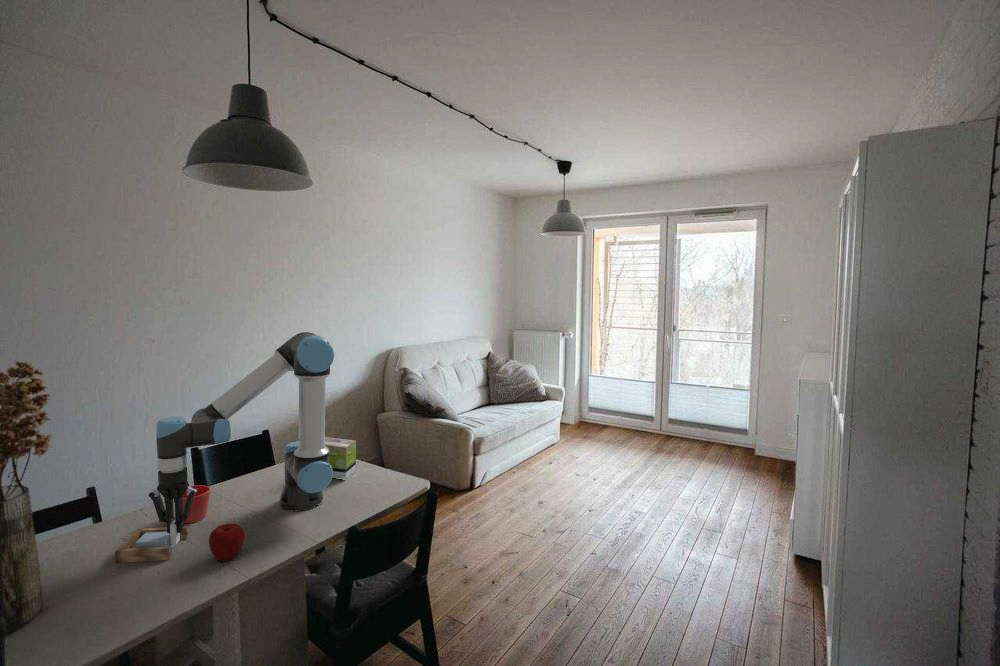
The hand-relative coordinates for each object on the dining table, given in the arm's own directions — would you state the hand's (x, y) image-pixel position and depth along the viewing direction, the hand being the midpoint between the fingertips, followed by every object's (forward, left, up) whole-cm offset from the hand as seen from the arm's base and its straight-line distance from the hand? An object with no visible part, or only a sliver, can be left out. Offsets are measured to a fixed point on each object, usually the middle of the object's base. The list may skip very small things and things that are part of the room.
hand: (175, 542), depth 158 cm
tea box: (-40, -55, -2) cm, 68 cm away
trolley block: (+5, +1, -2) cm, 6 cm away
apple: (-17, +7, -2) cm, 19 cm away
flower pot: (+2, -20, -2) cm, 20 cm away
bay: (+5, 0, -2) cm, 6 cm away
